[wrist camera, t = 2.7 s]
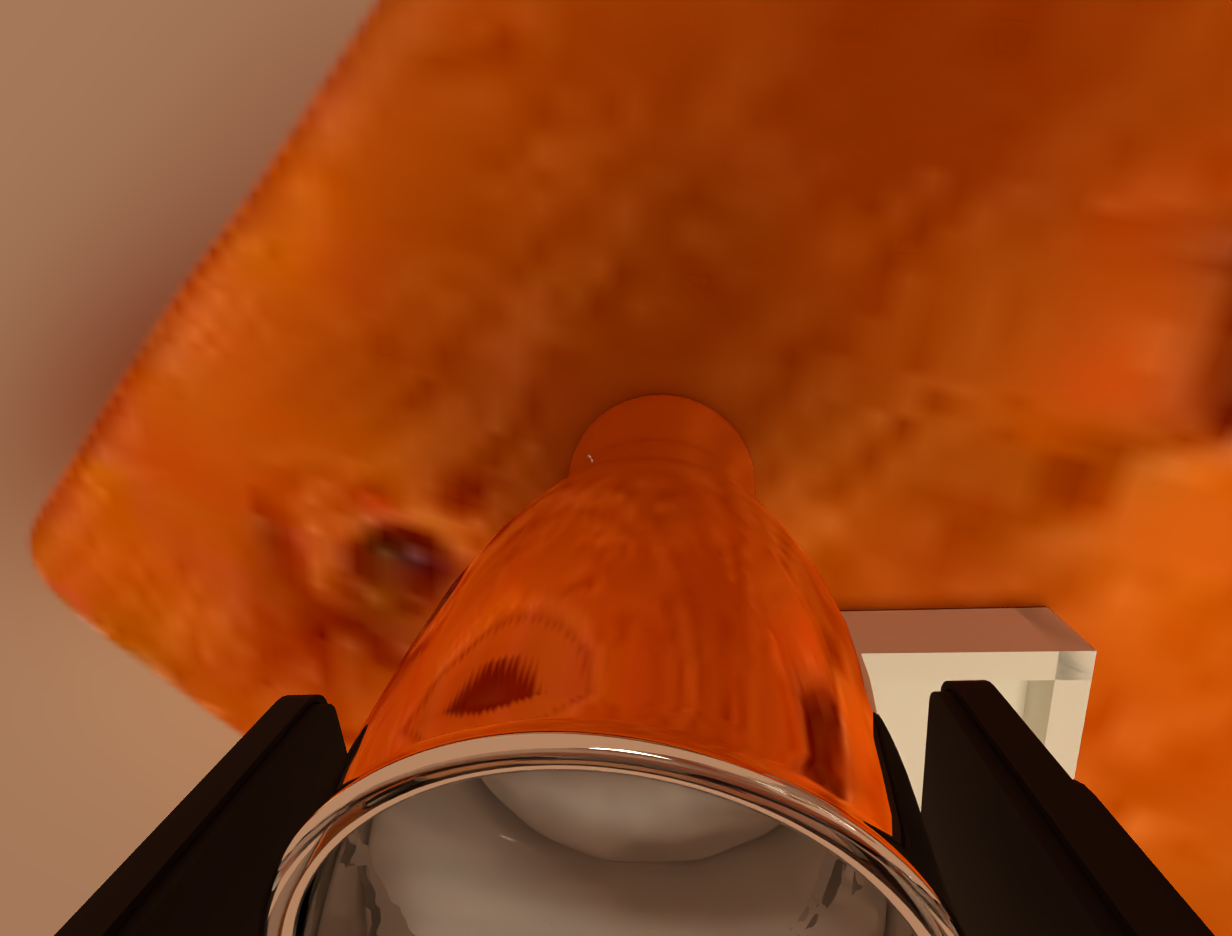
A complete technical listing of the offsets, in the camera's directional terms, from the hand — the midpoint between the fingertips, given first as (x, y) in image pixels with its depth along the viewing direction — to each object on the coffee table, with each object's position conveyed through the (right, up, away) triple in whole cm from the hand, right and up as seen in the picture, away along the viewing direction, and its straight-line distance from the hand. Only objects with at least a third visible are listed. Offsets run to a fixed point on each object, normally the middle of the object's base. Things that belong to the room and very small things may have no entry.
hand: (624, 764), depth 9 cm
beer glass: (+1, +4, +10) cm, 11 cm away
